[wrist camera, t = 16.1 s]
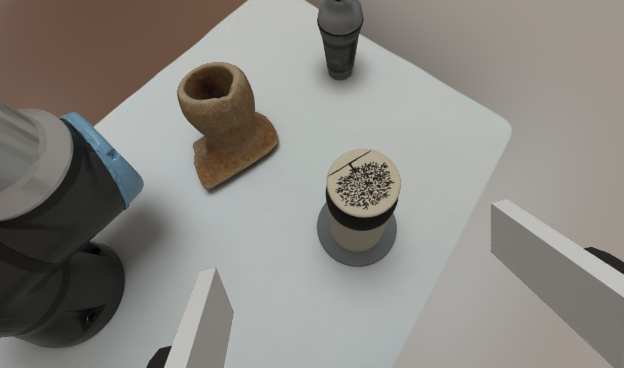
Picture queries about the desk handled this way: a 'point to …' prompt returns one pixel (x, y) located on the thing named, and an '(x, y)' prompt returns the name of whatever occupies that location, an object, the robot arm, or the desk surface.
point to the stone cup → (224, 121)
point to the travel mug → (361, 198)
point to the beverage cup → (340, 34)
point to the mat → (349, 256)
